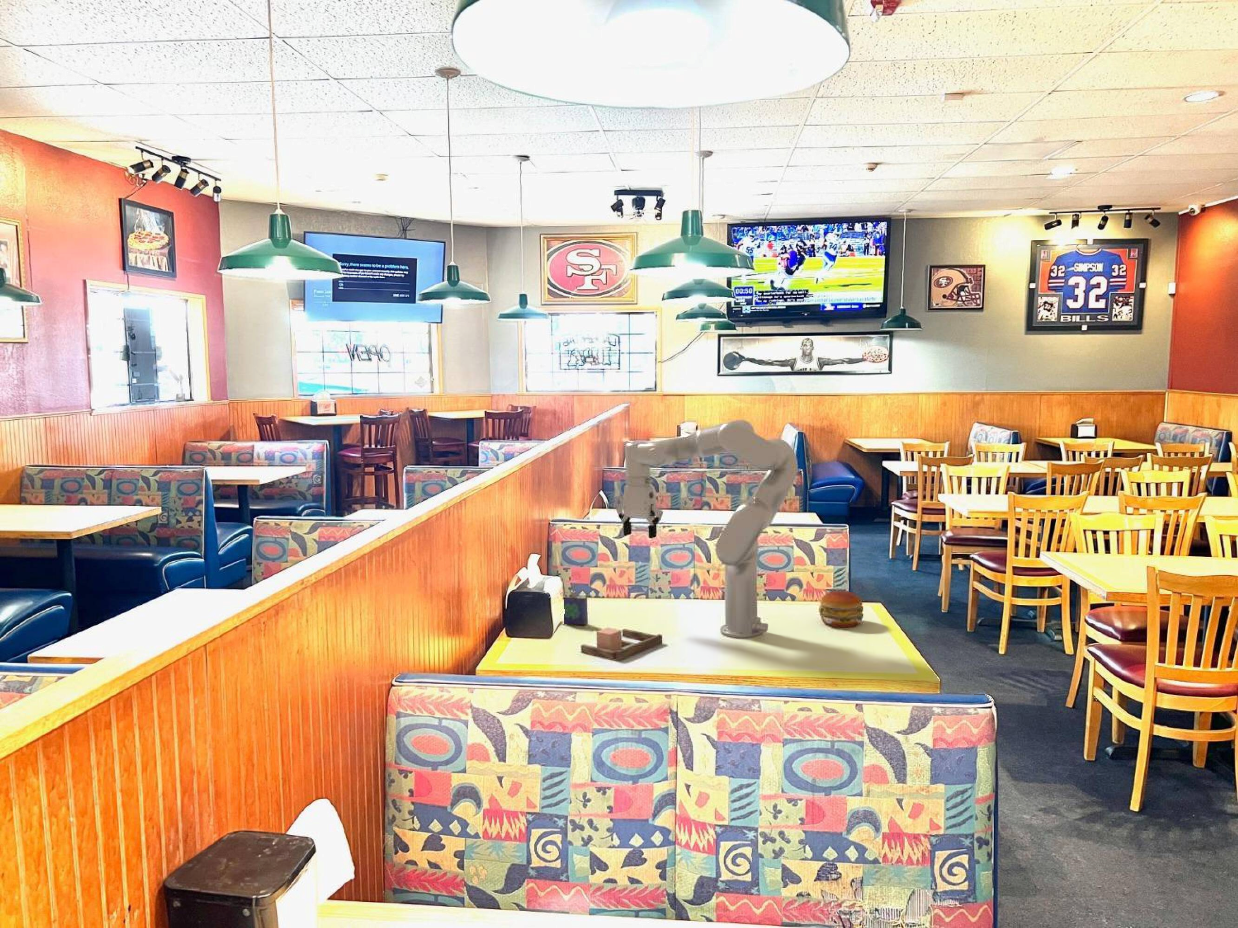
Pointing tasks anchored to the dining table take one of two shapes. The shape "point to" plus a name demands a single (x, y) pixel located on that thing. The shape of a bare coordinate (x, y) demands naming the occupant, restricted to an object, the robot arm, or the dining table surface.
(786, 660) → the dining table surface
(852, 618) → the burger
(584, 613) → the dark blue pouch
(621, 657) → the comb rack
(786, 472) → the robot arm
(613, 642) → the block
